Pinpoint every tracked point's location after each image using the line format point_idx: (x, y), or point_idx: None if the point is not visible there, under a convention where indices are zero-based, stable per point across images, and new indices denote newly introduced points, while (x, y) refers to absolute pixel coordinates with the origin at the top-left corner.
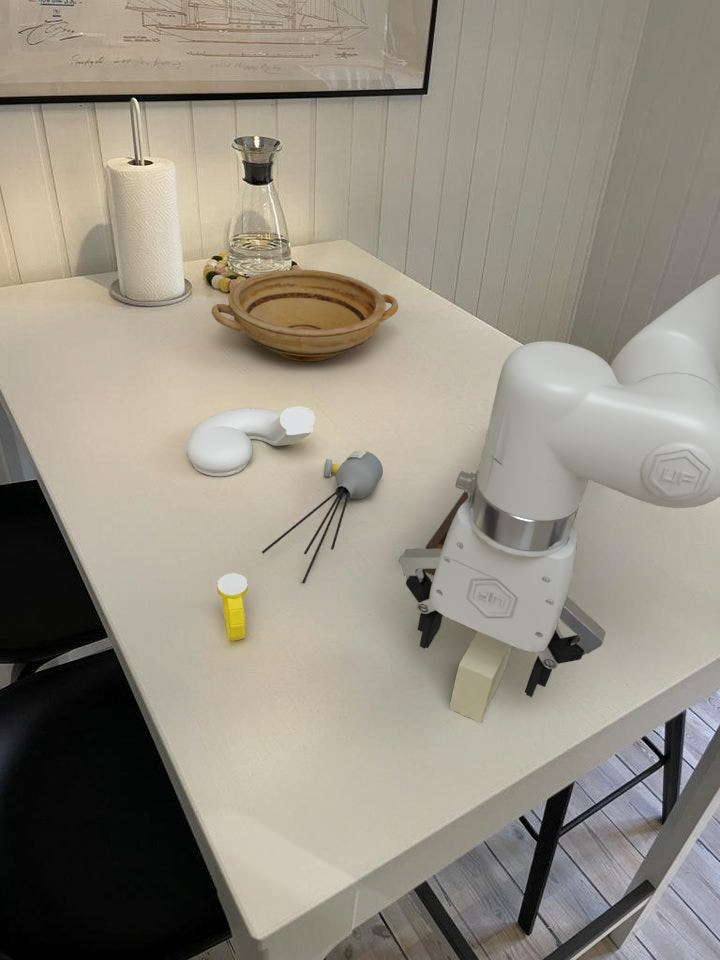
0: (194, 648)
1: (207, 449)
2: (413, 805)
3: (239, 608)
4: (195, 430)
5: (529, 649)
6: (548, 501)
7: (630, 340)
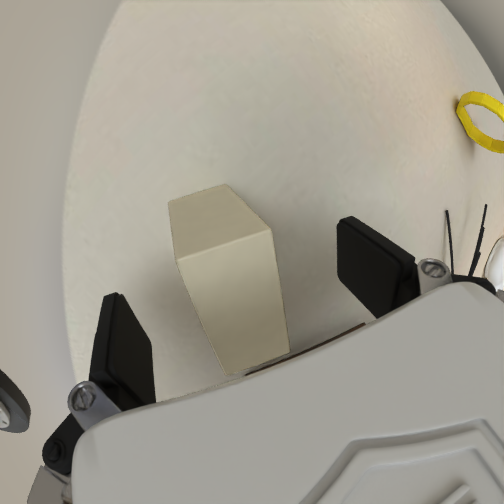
0: (465, 77)
1: None
2: (164, 6)
3: (499, 110)
4: None
5: (100, 433)
6: None
7: None
